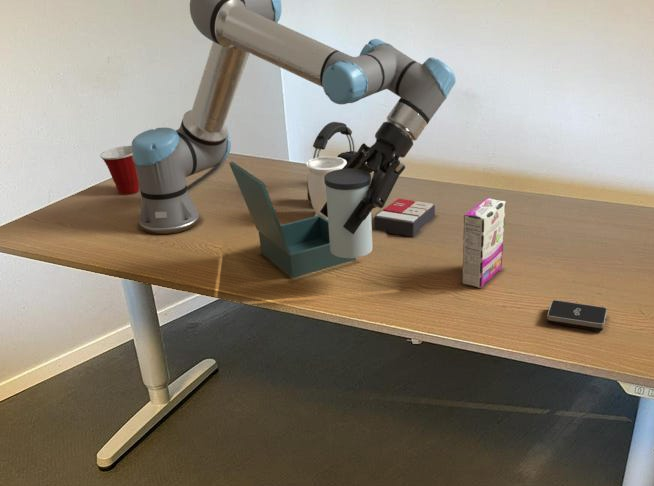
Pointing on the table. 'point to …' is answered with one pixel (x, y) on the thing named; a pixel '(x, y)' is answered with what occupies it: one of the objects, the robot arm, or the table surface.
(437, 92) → the robot arm
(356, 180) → the canister
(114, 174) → the plastic cup
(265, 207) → the chest lid
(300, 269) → the chest
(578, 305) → the external hard drive
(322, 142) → the headphones
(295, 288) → the table surface
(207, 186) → the table surface
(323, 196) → the jar
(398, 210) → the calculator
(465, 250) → the candy bar box
